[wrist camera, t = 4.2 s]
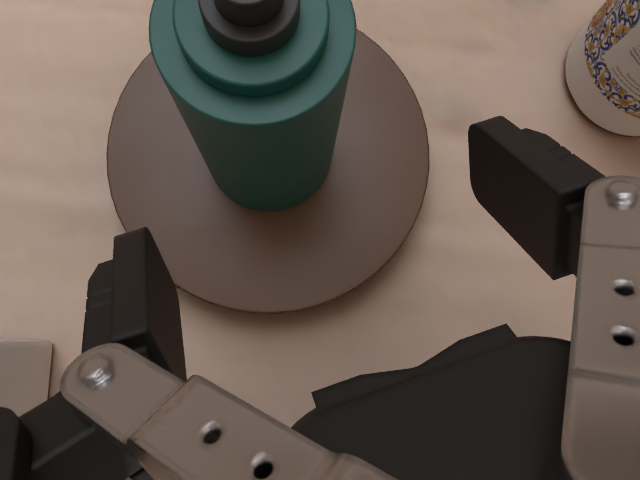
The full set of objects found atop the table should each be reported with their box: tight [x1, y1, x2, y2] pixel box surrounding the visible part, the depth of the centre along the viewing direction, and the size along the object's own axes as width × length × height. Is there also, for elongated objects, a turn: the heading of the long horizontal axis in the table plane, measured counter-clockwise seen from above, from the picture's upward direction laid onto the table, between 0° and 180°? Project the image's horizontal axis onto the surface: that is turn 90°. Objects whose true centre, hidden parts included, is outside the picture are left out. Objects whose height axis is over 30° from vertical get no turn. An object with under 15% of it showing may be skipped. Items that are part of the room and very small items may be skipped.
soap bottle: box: [107, 0, 429, 314], centre depth 21 cm, size 15×15×14 cm
